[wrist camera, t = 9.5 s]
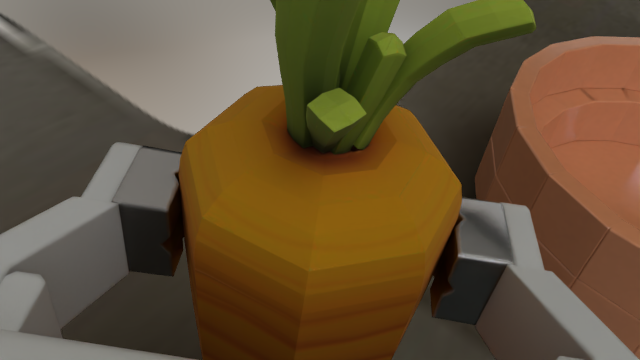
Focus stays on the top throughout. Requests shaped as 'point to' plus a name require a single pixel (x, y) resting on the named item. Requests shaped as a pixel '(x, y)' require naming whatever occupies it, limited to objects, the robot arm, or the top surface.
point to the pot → (577, 170)
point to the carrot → (327, 186)
